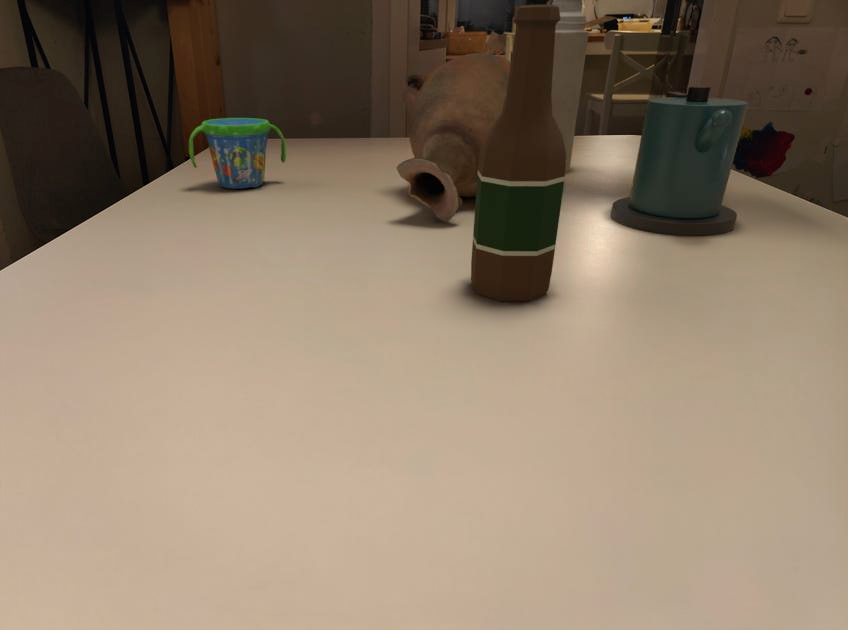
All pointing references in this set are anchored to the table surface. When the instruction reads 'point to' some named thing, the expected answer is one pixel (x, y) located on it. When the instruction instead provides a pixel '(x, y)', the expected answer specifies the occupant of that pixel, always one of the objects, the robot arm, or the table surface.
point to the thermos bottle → (568, 69)
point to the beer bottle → (521, 172)
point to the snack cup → (237, 149)
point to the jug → (451, 127)
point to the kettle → (686, 154)
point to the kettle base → (673, 221)
